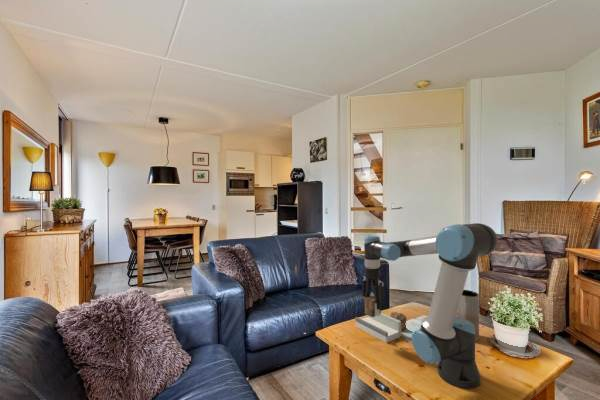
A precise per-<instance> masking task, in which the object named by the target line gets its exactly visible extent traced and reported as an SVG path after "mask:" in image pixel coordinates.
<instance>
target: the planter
mask: <svg viewBox="0 0 600 400" xmlns="http://www.w3.org/2000/svg"><path fill="white" fill-rule="evenodd" d="M479 296H480V295H479V293H477V292H475V291H473V290H469V289H463V293H462V296H461V300H460V303H459V307H458V310H457V313H456V317H460V318H463V319H466V320H468V321H470V322H471V323H472V324H473V325H474V327H475V333H476V334H475V342H477V341H479V340H480V297H479Z"/></svg>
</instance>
